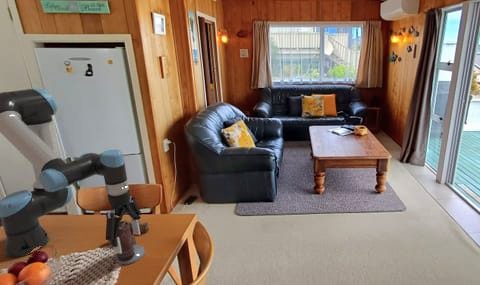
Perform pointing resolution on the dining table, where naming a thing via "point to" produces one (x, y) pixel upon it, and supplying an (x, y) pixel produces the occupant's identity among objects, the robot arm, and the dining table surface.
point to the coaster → (137, 256)
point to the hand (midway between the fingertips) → (128, 242)
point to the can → (125, 242)
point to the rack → (142, 226)
